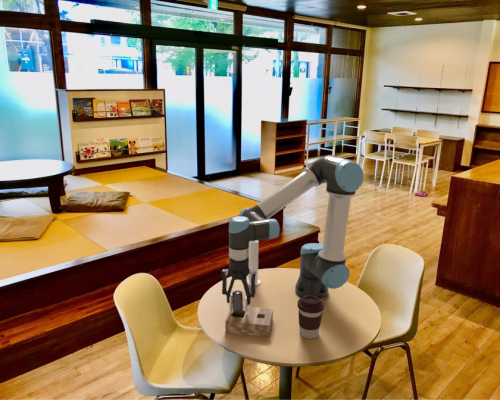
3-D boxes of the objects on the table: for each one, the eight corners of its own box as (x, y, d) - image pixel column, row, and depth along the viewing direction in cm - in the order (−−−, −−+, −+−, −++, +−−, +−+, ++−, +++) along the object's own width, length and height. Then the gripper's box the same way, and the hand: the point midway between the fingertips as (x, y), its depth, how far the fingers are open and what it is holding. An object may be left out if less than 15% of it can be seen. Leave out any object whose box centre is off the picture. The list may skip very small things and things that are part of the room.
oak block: (272, 319, 172) (272, 309, 170) (268, 337, 160) (269, 325, 159) (231, 315, 174) (231, 304, 173) (225, 332, 163) (225, 320, 162)
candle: (258, 287, 198) (259, 237, 191) (244, 285, 200) (244, 236, 193) (261, 280, 205) (262, 232, 198) (247, 279, 206) (247, 231, 199)
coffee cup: (304, 323, 170) (306, 290, 165) (326, 333, 164) (329, 298, 159) (291, 334, 162) (292, 300, 158) (313, 344, 156) (315, 309, 152)
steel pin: (244, 319, 169) (243, 290, 166) (242, 325, 166) (241, 295, 162) (234, 319, 170) (233, 290, 167) (232, 324, 166) (231, 295, 163)
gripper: (264, 254, 162) (263, 308, 169) (217, 251, 165) (218, 303, 171) (261, 263, 155) (260, 318, 161) (212, 258, 158) (213, 313, 164)
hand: (238, 310), depth 166 cm, fingers open, 5 cm apart
